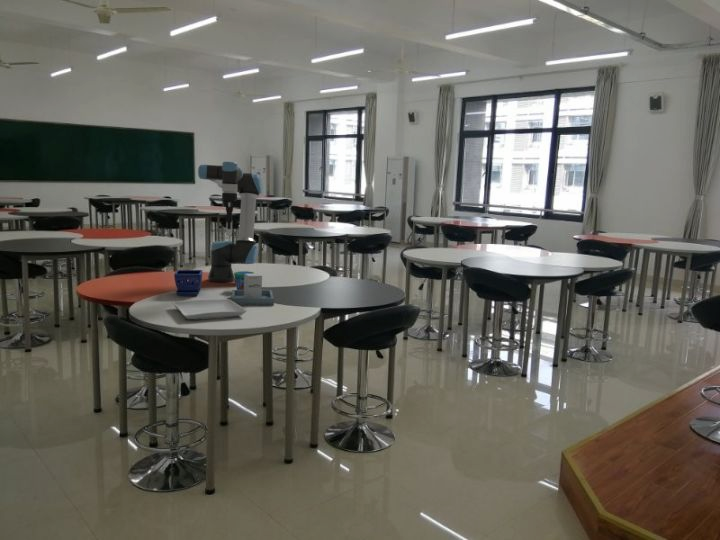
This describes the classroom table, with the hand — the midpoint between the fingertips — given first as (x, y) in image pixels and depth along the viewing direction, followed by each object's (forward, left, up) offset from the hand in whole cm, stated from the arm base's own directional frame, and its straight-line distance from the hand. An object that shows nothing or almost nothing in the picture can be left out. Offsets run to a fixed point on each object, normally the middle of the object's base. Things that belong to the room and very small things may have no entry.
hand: (229, 234), depth 282 cm
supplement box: (+16, +12, -31) cm, 37 cm away
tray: (+15, +12, -32) cm, 37 cm away
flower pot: (0, -20, -32) cm, 38 cm away
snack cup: (-9, +8, -32) cm, 34 cm away
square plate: (+40, -8, -32) cm, 52 cm away
